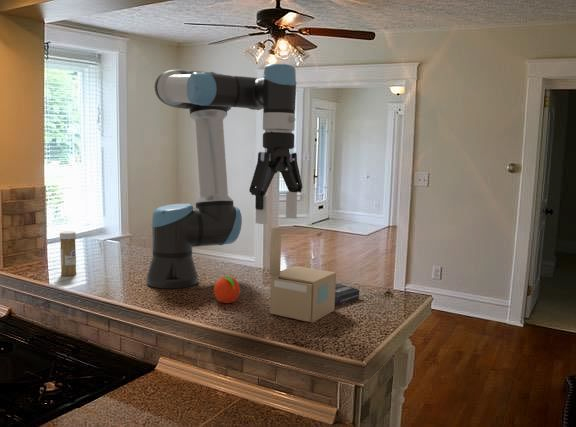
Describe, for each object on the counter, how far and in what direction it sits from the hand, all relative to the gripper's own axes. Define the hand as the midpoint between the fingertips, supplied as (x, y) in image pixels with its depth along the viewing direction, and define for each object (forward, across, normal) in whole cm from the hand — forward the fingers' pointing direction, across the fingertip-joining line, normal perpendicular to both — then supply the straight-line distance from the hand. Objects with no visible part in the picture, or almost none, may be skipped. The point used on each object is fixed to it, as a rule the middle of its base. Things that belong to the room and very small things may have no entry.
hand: (276, 220), depth 129 cm
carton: (+24, +7, -4) cm, 25 cm away
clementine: (+24, +2, +16) cm, 29 cm away
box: (+24, +22, 0) cm, 33 cm away
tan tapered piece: (+23, 0, -4) cm, 24 cm away
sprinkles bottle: (+23, -3, +74) cm, 78 cm away
